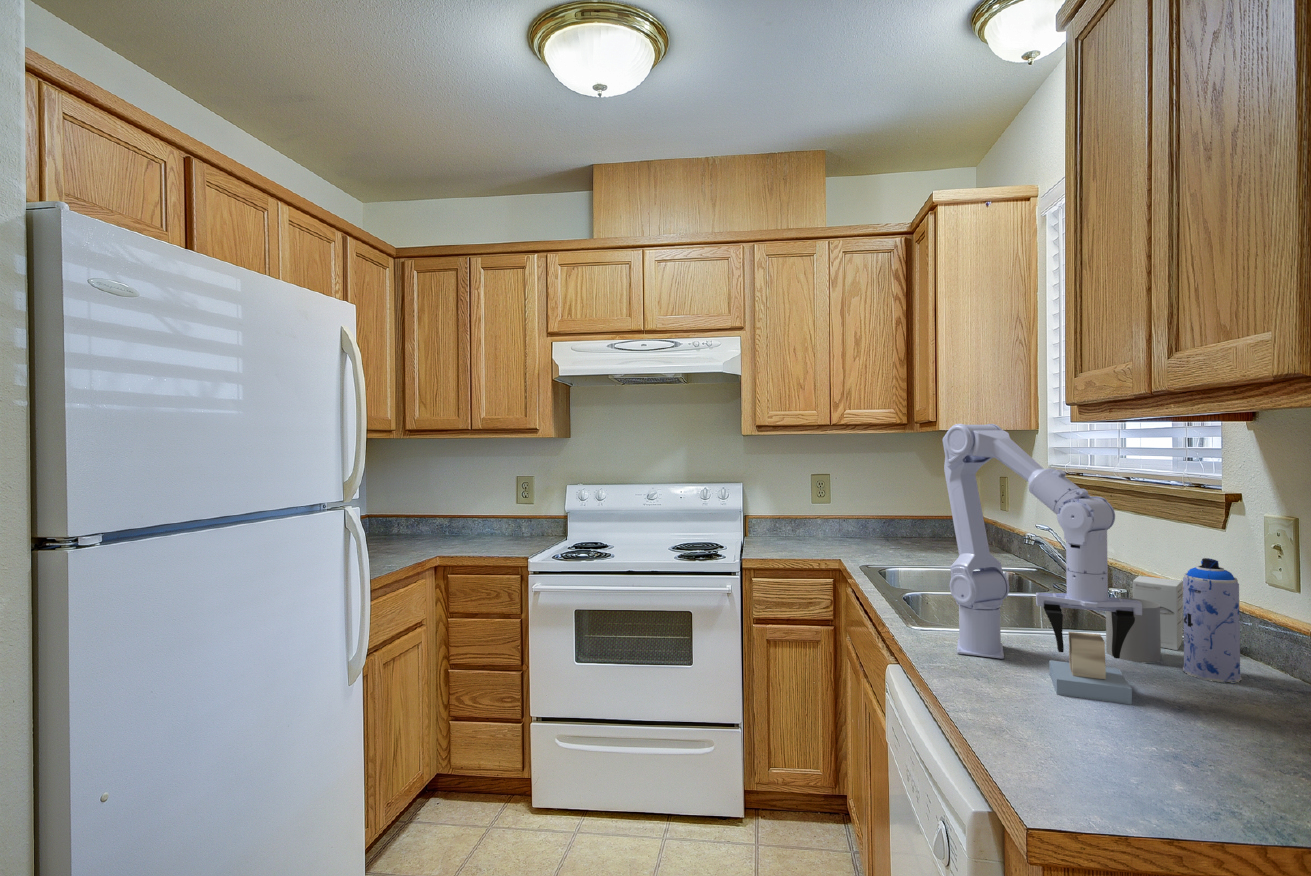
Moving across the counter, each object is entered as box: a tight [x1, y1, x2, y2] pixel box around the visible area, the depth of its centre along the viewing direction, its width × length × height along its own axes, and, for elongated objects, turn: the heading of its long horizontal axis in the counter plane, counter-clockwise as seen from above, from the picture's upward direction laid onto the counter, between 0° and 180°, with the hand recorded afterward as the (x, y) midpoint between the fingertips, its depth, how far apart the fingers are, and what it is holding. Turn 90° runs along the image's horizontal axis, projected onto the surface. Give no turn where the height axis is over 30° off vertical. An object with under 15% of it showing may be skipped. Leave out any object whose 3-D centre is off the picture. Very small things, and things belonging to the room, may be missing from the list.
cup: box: [1105, 596, 1162, 663], centre depth 125 cm, size 8×8×10 cm
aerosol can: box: [1182, 557, 1243, 683], centre depth 115 cm, size 8×8×20 cm
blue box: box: [1048, 660, 1133, 705], centre depth 109 cm, size 10×10×3 cm
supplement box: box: [1132, 575, 1184, 651], centre depth 133 cm, size 7×7×13 cm
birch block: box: [1068, 631, 1107, 679], centre depth 109 cm, size 4×4×6 cm
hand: (1087, 653), depth 109 cm, fingers open, 7 cm apart
